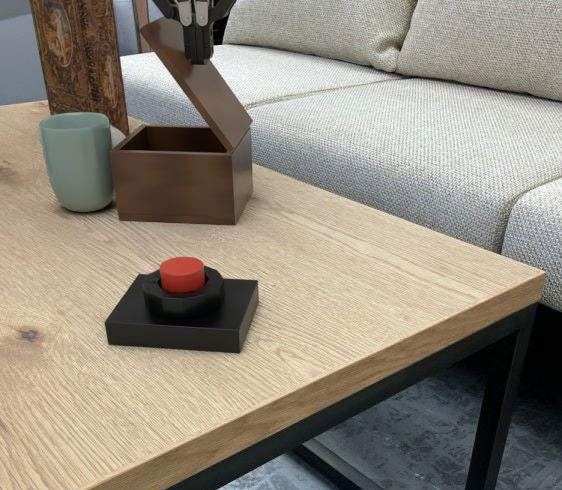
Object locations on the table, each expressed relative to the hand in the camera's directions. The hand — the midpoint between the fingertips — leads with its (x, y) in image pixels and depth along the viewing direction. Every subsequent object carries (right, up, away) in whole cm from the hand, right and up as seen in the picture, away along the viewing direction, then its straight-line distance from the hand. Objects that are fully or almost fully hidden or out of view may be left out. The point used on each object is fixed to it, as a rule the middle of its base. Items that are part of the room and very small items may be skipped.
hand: (199, 63), depth 75 cm
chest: (-2, -13, +9) cm, 16 cm away
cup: (-14, -13, +9) cm, 22 cm away
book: (-21, +5, +37) cm, 43 cm away
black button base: (+1, -29, -15) cm, 32 cm away
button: (+1, -26, -17) cm, 31 cm away
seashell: (-17, -5, +21) cm, 27 cm away
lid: (0, -1, +1) cm, 2 cm away
